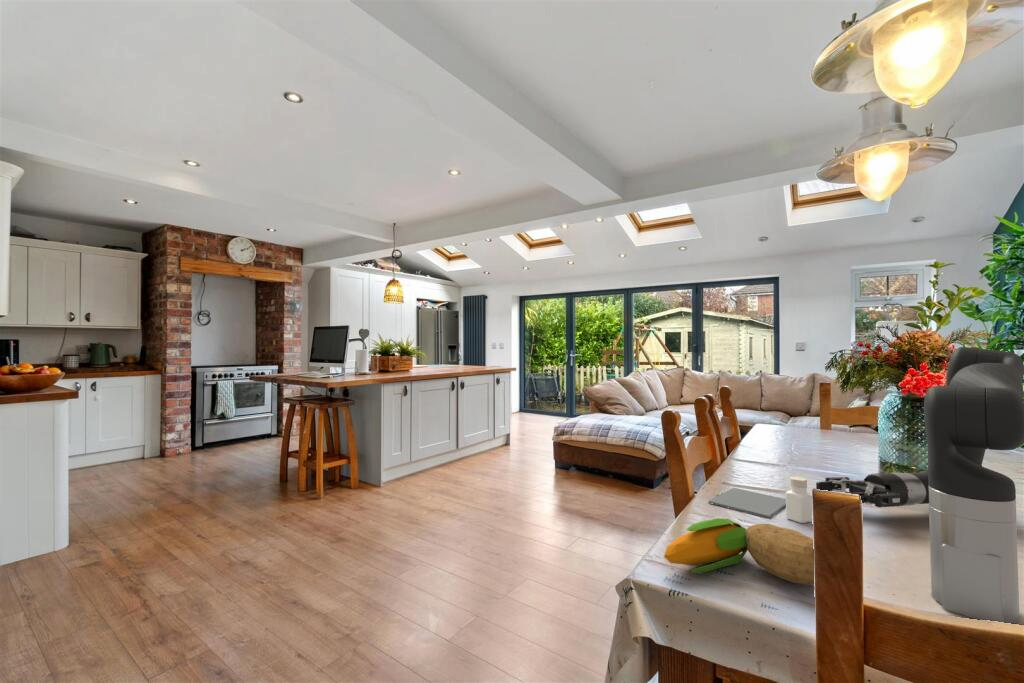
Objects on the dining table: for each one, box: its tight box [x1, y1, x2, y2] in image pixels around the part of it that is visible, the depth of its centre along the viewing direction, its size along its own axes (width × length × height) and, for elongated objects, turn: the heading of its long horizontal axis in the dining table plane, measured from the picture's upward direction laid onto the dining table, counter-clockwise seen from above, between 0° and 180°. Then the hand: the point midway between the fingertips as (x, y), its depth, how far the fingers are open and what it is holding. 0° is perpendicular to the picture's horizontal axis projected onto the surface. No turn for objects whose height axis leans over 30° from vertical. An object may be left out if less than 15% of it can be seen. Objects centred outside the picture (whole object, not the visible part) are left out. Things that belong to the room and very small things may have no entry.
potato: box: [745, 523, 815, 585], centre depth 76 cm, size 10×14×8 cm
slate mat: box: [708, 487, 786, 519], centre depth 112 cm, size 16×14×1 cm
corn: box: [663, 517, 748, 574], centre depth 80 cm, size 7×8×20 cm
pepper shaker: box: [785, 476, 813, 524], centre depth 101 cm, size 4×4×10 cm
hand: (832, 492), depth 102 cm, fingers open, 8 cm apart
